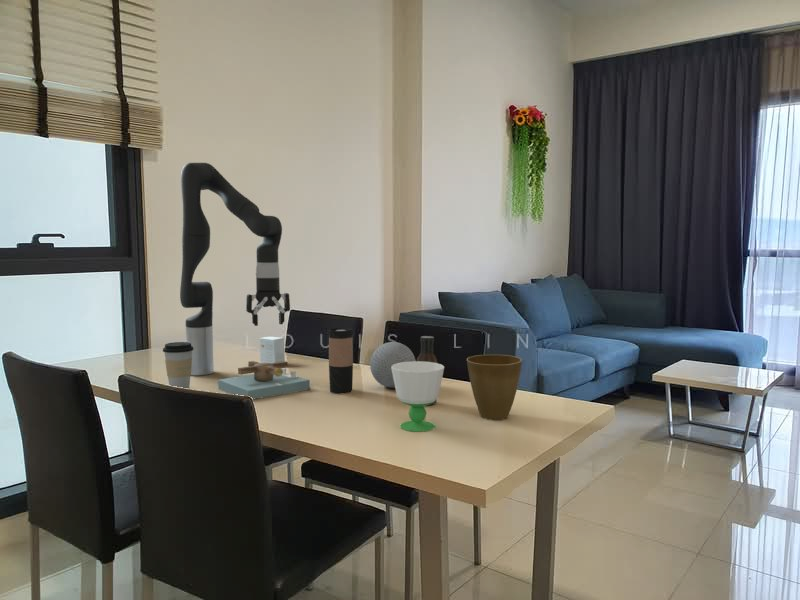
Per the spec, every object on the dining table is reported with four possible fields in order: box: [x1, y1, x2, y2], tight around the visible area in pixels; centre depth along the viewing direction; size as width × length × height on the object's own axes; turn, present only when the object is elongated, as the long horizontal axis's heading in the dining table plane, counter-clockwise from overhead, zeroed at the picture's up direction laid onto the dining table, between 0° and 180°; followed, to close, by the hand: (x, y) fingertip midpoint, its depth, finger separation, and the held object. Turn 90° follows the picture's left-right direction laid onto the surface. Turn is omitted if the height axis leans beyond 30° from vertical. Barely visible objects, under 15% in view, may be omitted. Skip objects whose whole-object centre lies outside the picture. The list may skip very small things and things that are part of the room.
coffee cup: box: [162, 341, 194, 389], centre depth 199 cm, size 9×9×15 cm
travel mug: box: [328, 327, 354, 395], centre depth 197 cm, size 8×8×20 cm
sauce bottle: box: [416, 335, 439, 406], centre depth 182 cm, size 6×6×20 cm
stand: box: [217, 368, 311, 400], centre depth 200 cm, size 21×22×5 cm
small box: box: [259, 336, 286, 363], centre depth 241 cm, size 8×6×10 cm
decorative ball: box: [369, 341, 416, 389], centre depth 203 cm, size 15×15×15 cm
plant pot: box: [466, 354, 523, 421], centre depth 169 cm, size 15×15×16 cm
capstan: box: [237, 360, 289, 381], centre depth 199 cm, size 19×17×5 cm
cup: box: [391, 360, 445, 433], centre depth 159 cm, size 14×14×16 cm
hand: (268, 324), depth 206 cm, fingers open, 8 cm apart
